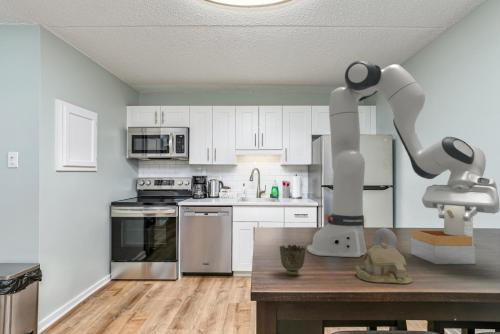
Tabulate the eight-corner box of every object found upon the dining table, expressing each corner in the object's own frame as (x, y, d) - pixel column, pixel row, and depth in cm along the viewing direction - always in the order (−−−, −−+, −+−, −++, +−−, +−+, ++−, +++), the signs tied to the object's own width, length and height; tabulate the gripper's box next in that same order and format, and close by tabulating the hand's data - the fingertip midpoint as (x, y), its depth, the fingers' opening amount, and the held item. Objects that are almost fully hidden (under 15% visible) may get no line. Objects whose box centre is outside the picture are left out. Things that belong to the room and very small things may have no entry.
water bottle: (462, 243, 142) (462, 187, 142) (476, 246, 135) (476, 187, 136) (447, 244, 139) (447, 186, 140) (461, 247, 133) (460, 187, 134)
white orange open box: (434, 264, 105) (434, 236, 106) (411, 253, 119) (411, 229, 120) (483, 263, 106) (483, 236, 107) (454, 253, 120) (454, 230, 121)
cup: (287, 280, 87) (287, 250, 87) (274, 272, 94) (275, 245, 94) (310, 277, 90) (310, 248, 90) (296, 270, 96) (296, 243, 97)
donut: (371, 252, 120) (371, 226, 121) (377, 252, 122) (377, 225, 122) (393, 259, 112) (393, 230, 112) (400, 258, 113) (400, 229, 113)
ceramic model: (394, 272, 96) (394, 239, 97) (419, 284, 85) (419, 246, 85) (350, 273, 94) (351, 239, 95) (370, 286, 83) (370, 247, 83)
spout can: (446, 231, 100) (447, 204, 100) (466, 234, 96) (466, 206, 96) (437, 234, 94) (438, 205, 94) (458, 237, 90) (458, 207, 90)
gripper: (425, 178, 109) (414, 208, 102) (501, 180, 94) (493, 215, 87) (430, 191, 112) (419, 221, 105) (503, 195, 97) (496, 230, 90)
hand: (453, 218), depth 96 cm, fingers closed on spout can, 5 cm apart
